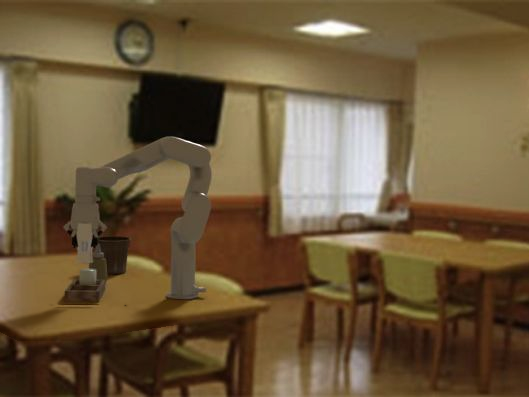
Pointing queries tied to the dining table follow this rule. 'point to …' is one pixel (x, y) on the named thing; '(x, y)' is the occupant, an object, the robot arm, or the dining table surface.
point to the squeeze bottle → (99, 264)
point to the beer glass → (84, 243)
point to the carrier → (84, 292)
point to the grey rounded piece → (87, 277)
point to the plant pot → (115, 253)
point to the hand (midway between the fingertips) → (84, 247)
